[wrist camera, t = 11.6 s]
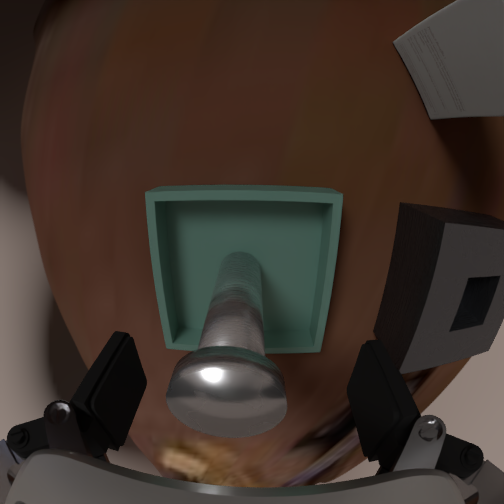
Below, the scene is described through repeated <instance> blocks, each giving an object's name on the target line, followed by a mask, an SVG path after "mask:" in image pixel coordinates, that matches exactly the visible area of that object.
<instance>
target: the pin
mask: <svg viewBox="0 0 504 504" xmlns="http://www.w3.org/2000/svg"><path fill="white" fill-rule="evenodd" d="M166 402H167V405H168V407H169V409H170V411H171V412H172V414H173V415H174V416H175V417H176V418H177V419H178V420H179V421H181V422H182V423H184V424H185V425H187V426H189V427H190V428H192V429H194V430H197V431H199V432H202V433H205V434H209V435H213V436H219V437H228V438H239V437H249V436H254V435H257V434H261V433H263V432H266V431H268V430H270V429H272V428H273V427H275V426H276V425H278V424H279V423H280V422H281V421H282V419H283V418H284V416H285V415H286V411H287V400H286V391H285V382H284V377H283V375H282V373H281V371H280V369H279V368H278V367H277V366H276V365H275V364H274V363H273V362H272V361H271V360H269V359H268V358H266V357H265V344H264V324H263V304H262V285H261V268H260V264H259V262H258V260H257V259H256V258H255V257H254V256H253V255H251V254H249V253H247V252H242V251H237V252H233V253H230V254H229V255H227V256H226V257H225V258H224V259H223V260H222V262H221V265H220V268H219V272H218V275H217V279H216V282H215V286H214V290H213V293H212V297H211V301H210V304H209V308H208V312H207V315H206V319H205V323H204V327H203V330H202V334H201V338H200V342H199V346H198V349H197V350H194V351H192V352H190V353H188V354H187V355H185V356H183V357H182V358H181V359H180V360H179V361H178V363H177V364H176V366H175V368H174V371H173V374H172V377H171V380H170V383H169V386H168V390H167V393H166Z"/></svg>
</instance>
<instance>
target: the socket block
mask: <svg viewBox="0 0 504 504" xmlns="http://www.w3.org/2000/svg"><path fill="white" fill-rule="evenodd" d="M503 319H504V221H502V220H500V219H498V218H495V217H493V216H490V215H486V214H480V213H475V212H468V211H462V210H456V209H449V208H442V207H434V206H427V205H419V204H410V203H401V202H400V207H399V215H398V222H397V229H396V235H395V241H394V247H393V252H392V257H391V262H390V267H389V272H388V276H387V281H386V285H385V289H384V294H383V298H382V302H381V305H380V309H379V313H378V316H377V320H376V323H375V327H374V330H373V332H374V334H375V335H376V337H377V339H378V340H379V339H380V340H381V341H382V342H383V344H384V346H385V348H386V350H387V352H388V354H389V356H390V358H391V360H392V362H393V364H394V366H395V368H397V369H398V370H399V371H400V373H401V374H404V373H409V372H414V371H418V370H423V369H427V368H431V367H436V366H439V365H443V364H447V363H451V362H454V361H458V360H461V359H465V358H468V357H471V356H474V355H477V354H480V353H483V352H486V351H488V350H489V349H490V347H491V345H492V343H493V341H494V339H495V337H496V335H497V332H498V330H499V328H500V326H501V324H502V321H503Z"/></svg>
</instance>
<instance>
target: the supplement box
mask: <svg viewBox="0 0 504 504" xmlns="http://www.w3.org/2000/svg"><path fill="white" fill-rule="evenodd" d="M393 44H394V46H395V47H396V49H397V51H398V52H399V54H400V56H401V58H402V59H403V61H404V63H405V65H406V67H407V69H408V70H409V72H410V74H411V76H412V78H413V80H414V82H415V84H416V87H417V89H418V91H419V93H420V95H421V98H422V100H423V102H424V105H425V107H426V109H427V112H428V114H429V117H430V119H431V120H432V119H445V118H458V117H481V116H504V0H457V1H455V2H453V3H452V4H450V5H448V6H446V7H445V8H443V9H441V10H440V11H438V12H436V13H435V14H433V15H431V16H430V17H428V18H427V19H425V20H424V21H422V22H420V23H419V24H417V25H416V26H414V27H413V28H412V29H410V30H409V31H408V32H406V33H405V34H403V35H402V36H400V37H399V38H398V39H396V40H395V41H394V42H393Z"/></svg>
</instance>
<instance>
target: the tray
mask: <svg viewBox="0 0 504 504" xmlns="http://www.w3.org/2000/svg"><path fill="white" fill-rule="evenodd" d="M145 197H146V211H147V223H148V234H149V243H150V252H151V260H152V268H153V275H154V282H155V289H156V295H157V301H158V307H159V313H160V318H161V323H162V328H163V333H164V338H165V343H166V348H168V349H178V350H190V351H194V350H197V349H198V346H199V342H200V338H201V334H202V330H203V327H204V323H205V319H206V315H207V312H208V308H209V304H210V301H211V297H212V293H213V290H214V286H215V282H216V279H217V275H218V272H219V268H220V265H221V262H222V260H223V259H224V258H225V257H226V256H227V255H229V254H230V253H233V252H237V251H242V252H247V253H249V254H251V255H253V256H254V257H255V258H256V259H257V260H258V262H259V264H260V268H261V285H262V304H263V324H264V344H265V353H311V352H320V350H321V346H322V341H323V336H324V331H325V326H326V320H327V315H328V309H329V304H330V298H331V292H332V285H333V279H334V272H335V265H336V258H337V250H338V242H339V233H340V224H341V213H342V202H343V194H341V193H339V192H337V191H335V190H333V189H331V188H319V187H300V186H275V185H184V186H160V187H157V188H154V189H152V190H150V191H147V192H145Z"/></svg>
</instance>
